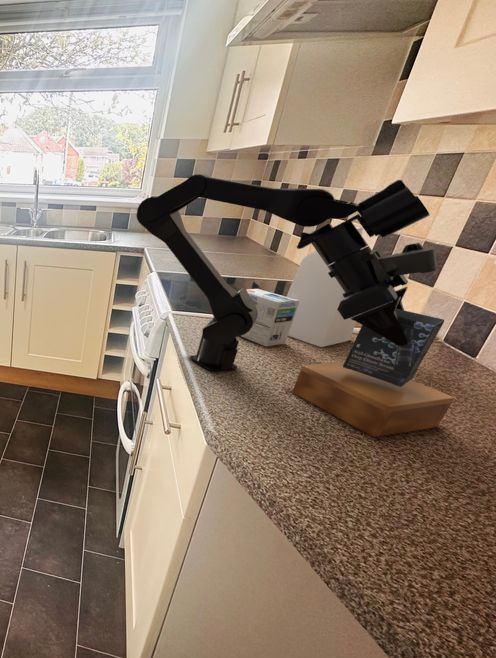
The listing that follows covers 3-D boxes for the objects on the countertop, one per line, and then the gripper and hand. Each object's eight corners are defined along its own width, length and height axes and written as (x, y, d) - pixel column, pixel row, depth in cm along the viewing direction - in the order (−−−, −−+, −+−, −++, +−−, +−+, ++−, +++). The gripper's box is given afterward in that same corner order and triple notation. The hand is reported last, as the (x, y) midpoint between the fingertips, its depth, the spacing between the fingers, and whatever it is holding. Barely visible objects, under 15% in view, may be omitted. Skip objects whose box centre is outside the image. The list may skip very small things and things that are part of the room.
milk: (300, 324, 111) (338, 223, 100) (349, 340, 102) (397, 230, 91) (272, 330, 106) (309, 224, 95) (321, 347, 97) (368, 232, 86)
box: (341, 368, 70) (368, 308, 66) (353, 361, 73) (380, 303, 69) (401, 388, 64) (436, 324, 60) (412, 380, 67) (446, 318, 63)
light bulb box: (285, 344, 98) (302, 300, 93) (266, 347, 95) (281, 302, 91) (244, 328, 107) (258, 287, 102) (225, 331, 104) (238, 289, 100)
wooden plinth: (291, 392, 76) (302, 365, 74) (349, 385, 79) (361, 359, 77) (373, 437, 64) (389, 406, 61) (438, 427, 67) (455, 397, 65)
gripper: (404, 229, 56) (479, 330, 53) (417, 221, 67) (478, 304, 65) (312, 274, 64) (372, 363, 62) (337, 260, 76) (389, 335, 73)
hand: (406, 340), depth 65 cm, fingers closed on box, 6 cm apart
